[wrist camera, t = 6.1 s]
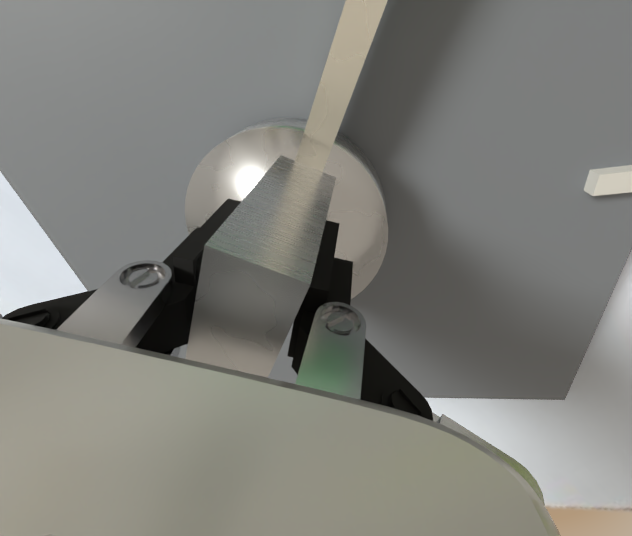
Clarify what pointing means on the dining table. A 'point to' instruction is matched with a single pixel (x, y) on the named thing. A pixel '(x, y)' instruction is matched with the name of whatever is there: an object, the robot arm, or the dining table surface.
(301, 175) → the knob
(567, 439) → the dining table surface
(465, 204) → the dial board
